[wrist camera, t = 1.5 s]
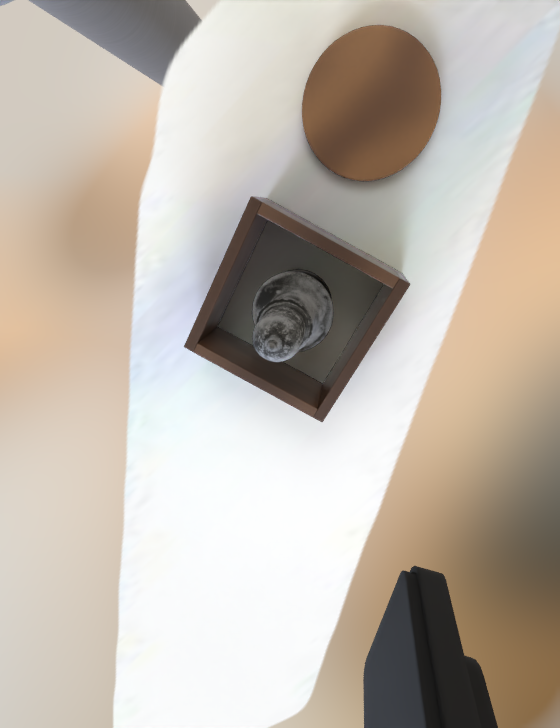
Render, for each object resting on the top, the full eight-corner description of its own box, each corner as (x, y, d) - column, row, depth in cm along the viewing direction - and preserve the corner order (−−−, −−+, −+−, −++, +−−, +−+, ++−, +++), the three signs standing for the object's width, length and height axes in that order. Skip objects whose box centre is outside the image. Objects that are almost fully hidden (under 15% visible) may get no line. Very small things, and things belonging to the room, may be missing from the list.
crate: (205, 329, 36) (183, 347, 32) (266, 197, 32) (250, 195, 27) (326, 395, 37) (322, 422, 32) (402, 273, 32) (410, 284, 28)
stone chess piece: (335, 339, 35) (325, 400, 24) (263, 338, 36) (221, 396, 25) (336, 265, 33) (326, 293, 22) (260, 265, 34) (213, 292, 23)
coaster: (280, 143, 31) (279, 141, 30) (344, 0, 27) (344, -4, 27) (391, 204, 31) (391, 204, 30) (468, 70, 28) (470, 67, 27)
